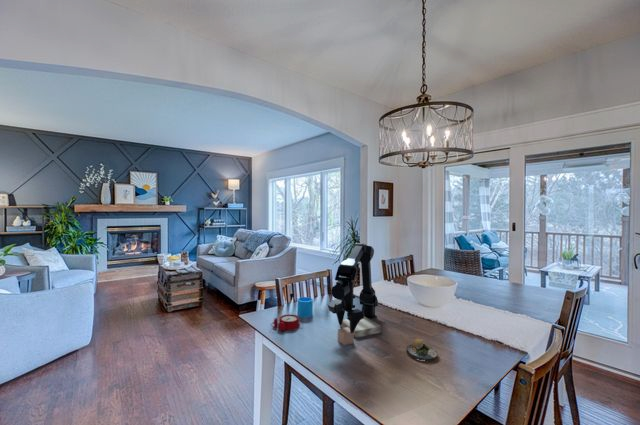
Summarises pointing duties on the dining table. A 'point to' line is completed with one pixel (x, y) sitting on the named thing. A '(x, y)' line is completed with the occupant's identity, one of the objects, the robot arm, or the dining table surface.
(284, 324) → the alarm clock
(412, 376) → the dining table surface
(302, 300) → the mug
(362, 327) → the plinth
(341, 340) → the cube
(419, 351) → the plate of food
